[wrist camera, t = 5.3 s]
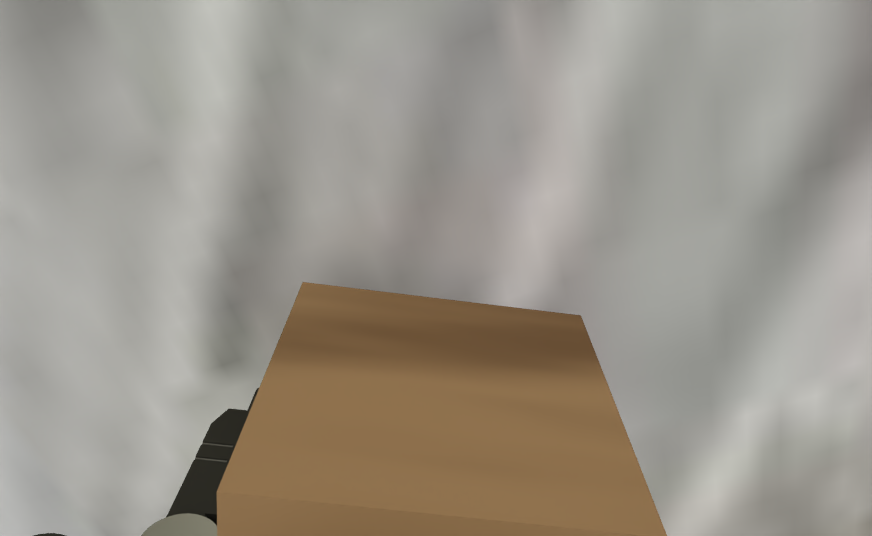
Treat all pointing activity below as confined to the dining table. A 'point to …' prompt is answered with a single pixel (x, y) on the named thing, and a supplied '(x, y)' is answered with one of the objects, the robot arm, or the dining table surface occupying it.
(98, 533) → the dining table surface
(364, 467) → the walnut cube
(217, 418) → the robot arm
